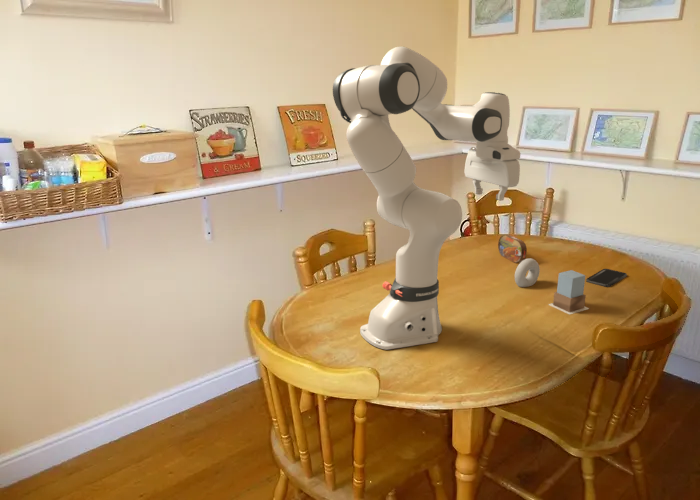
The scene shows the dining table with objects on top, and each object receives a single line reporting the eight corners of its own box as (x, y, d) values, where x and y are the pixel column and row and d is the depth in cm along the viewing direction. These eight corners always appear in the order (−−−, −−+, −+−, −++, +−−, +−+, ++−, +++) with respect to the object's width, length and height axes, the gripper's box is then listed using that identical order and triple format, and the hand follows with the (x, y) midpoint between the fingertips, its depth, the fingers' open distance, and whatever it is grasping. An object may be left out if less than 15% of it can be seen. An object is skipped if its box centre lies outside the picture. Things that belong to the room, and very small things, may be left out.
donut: (519, 293, 174) (522, 263, 171) (511, 289, 177) (513, 260, 174) (540, 286, 179) (543, 257, 176) (531, 283, 182) (534, 254, 179)
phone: (585, 279, 182) (604, 268, 192) (584, 282, 183) (604, 271, 192) (609, 285, 177) (628, 273, 187) (608, 288, 177) (627, 276, 187)
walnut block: (569, 312, 157) (570, 299, 156) (553, 304, 162) (554, 292, 161) (584, 308, 160) (585, 295, 158) (567, 300, 165) (569, 288, 163)
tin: (496, 253, 212) (498, 232, 209) (504, 252, 213) (505, 231, 210) (519, 265, 198) (521, 243, 196) (527, 264, 199) (529, 242, 196)
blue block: (570, 298, 156) (572, 278, 155) (556, 292, 161) (558, 273, 159) (583, 294, 159) (585, 275, 157) (569, 289, 163) (571, 270, 161)
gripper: (460, 147, 168) (458, 192, 172) (507, 155, 151) (504, 205, 155) (476, 145, 171) (474, 189, 175) (525, 153, 153) (521, 202, 158)
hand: (488, 197), depth 165 cm, fingers open, 8 cm apart
